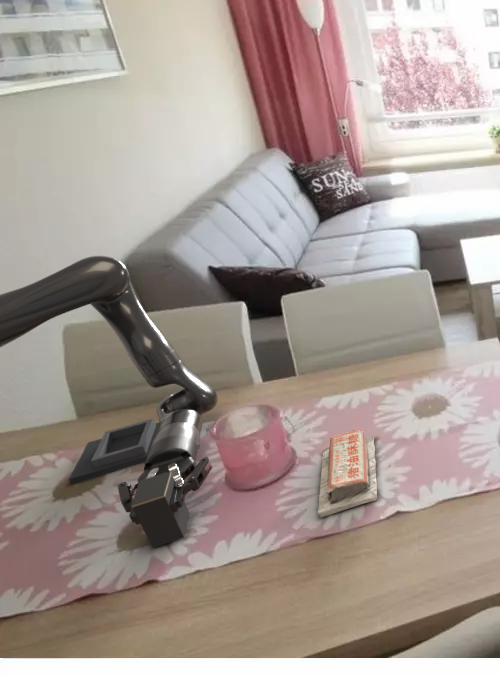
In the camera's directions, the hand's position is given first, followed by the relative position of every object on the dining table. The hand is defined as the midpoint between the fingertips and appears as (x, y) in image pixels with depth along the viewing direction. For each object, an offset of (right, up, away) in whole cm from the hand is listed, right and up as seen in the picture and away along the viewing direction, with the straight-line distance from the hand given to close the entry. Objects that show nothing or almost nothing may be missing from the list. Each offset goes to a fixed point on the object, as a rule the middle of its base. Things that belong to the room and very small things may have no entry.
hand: (155, 513), depth 90 cm
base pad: (-26, +2, +25) cm, 36 cm away
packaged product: (+25, 0, +16) cm, 30 cm away
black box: (-1, -5, +5) cm, 7 cm away
